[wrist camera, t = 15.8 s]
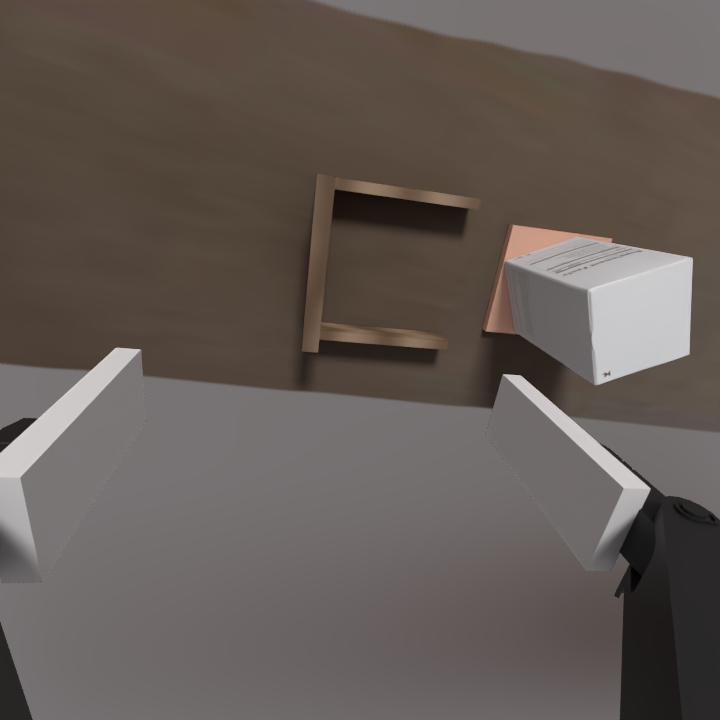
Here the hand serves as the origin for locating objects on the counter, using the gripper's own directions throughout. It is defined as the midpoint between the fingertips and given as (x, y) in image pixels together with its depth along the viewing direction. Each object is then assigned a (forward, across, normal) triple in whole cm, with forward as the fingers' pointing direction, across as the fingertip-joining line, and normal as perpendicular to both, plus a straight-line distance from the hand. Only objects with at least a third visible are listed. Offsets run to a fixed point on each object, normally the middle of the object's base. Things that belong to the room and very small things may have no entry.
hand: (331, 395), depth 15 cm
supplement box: (+30, +27, 0) cm, 41 cm away
